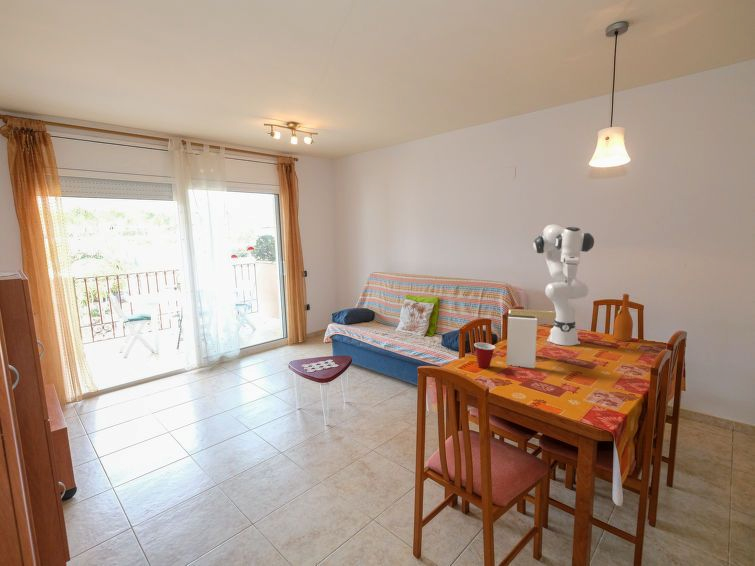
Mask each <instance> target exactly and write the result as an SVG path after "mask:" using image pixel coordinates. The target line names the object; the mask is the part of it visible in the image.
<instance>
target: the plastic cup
mask: <svg viewBox="0 0 755 566" xmlns="http://www.w3.org/2000/svg"><path fill="white" fill-rule="evenodd" d="M473 345H474V349H475V354H476V355H475V356H476V361H477V366H478V368H479V367H480V369H483V370H484V368H487V369H490V366H491V362H492V358H493V353H494V351H495V349H496V346H495V345H493V344H491V343H487V342H475V343H474V344H473Z"/></svg>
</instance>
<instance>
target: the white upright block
mask: <svg viewBox="0 0 755 566" xmlns="http://www.w3.org/2000/svg"><path fill="white" fill-rule="evenodd" d="M510 312H511V309H508V313H507V314H508V315H507V339H506V362H505V363H506V364H505V365H506V366H510V365H512V367H519V366H520V367H521V368H528V369H536V355H537V354H536V352H537V351H536V350H537V333H538V332H537V331H538V328H537V327H538V317H525V316H510Z"/></svg>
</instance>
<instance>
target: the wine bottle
mask: <svg viewBox="0 0 755 566" xmlns="http://www.w3.org/2000/svg"><path fill="white" fill-rule="evenodd" d="M629 297H630V295H629V294H628V293H623V294H622V300H621V301H622V306H621V308H619V310H618V311H617V315H616V317H615V321H614V324H613V339H614V340H616V341H619V340H620V342H630V341H632V338H633V329H634V322H633V318H632V315H631V313H630V311H629V310H630V309H629V301H630V298H629Z"/></svg>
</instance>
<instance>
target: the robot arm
mask: <svg viewBox="0 0 755 566" xmlns="http://www.w3.org/2000/svg"><path fill="white" fill-rule="evenodd" d="M542 234H543V235H539V236H538V237H537V238H535V239H534V241H533V243H532V244H533V249H534V251H535V252H536V253H537V254H545V262H546V265H547V269H548V271H549V274H550V277H551V278H552V279H553V280H554V281H556V282H550V283H548V284H547V285H546V286H545V291H544V292H545V296H546V297H547V298H548V299H549V300H550V301H551V302H552V303H553V305H554V311H556V318H554V320H553V327H552V328H551V329H550V330H549V333H550V334H549V335H548V337H547V340H546V341H547V342H550V343H553V344H556V345H561V346H567V347H569V346H575V345H580V344H581V342H580V341H579V340H578V337H579V336H578V335H579V334H578V329H577V328H576V325H577V324H576V309H575V308H574V307H573V306H571V305H570V304H569V302H568V300H579V299H583V298H586V297H587V296H588V294H589V286H588V285H587V284H586V283H585V282H583V281H581V280H580V279H578V278H576V276H577V272H578V266H579V264H580V262H581V252H584V253H585V252H587V253H588V252H589V251H590V250H592V249H593V248H594V245H595V238H594V236H593V235H592V234H591V233H589V232H583V233H582V229H580V228H579V227H574V226H569V227H564V226H563V227H562V226H561V225H560V224H559V225H558V224H554V223H552V224H548V225H546V226H545V227H544V229H543V231H542Z"/></svg>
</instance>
